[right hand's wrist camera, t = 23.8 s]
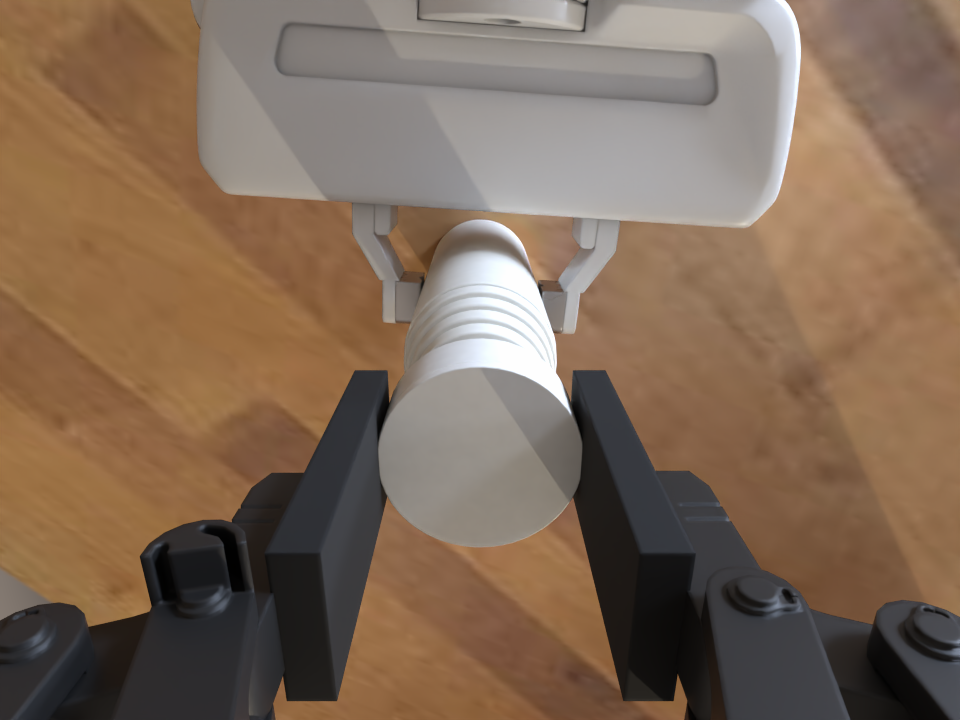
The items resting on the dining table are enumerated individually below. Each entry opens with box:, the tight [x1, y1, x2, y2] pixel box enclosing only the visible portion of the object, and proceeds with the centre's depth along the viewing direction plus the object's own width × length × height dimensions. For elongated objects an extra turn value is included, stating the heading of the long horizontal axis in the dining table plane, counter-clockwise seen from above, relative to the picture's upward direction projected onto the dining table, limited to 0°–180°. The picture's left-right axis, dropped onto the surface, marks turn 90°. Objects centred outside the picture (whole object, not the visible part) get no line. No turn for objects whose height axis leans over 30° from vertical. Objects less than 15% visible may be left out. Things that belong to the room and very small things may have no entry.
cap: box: [378, 338, 582, 547], centre depth 14 cm, size 4×4×2 cm
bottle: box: [404, 220, 557, 373], centre depth 22 cm, size 5×5×18 cm
